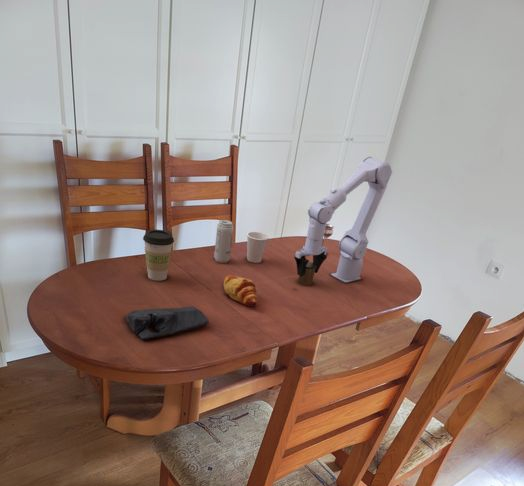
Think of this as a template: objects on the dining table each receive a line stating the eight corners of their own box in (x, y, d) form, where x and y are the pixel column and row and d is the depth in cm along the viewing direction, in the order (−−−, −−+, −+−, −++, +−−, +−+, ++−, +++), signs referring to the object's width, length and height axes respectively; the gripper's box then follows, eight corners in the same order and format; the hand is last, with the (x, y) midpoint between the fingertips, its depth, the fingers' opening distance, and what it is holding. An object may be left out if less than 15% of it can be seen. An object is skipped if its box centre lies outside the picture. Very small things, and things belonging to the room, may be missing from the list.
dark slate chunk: (214, 332, 135) (215, 318, 133) (137, 343, 125) (138, 327, 122) (194, 307, 146) (195, 293, 144) (122, 315, 136) (122, 300, 133)
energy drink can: (229, 264, 179) (233, 225, 171) (213, 262, 178) (217, 223, 170) (230, 258, 184) (234, 220, 176) (214, 256, 184) (218, 218, 176)
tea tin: (305, 278, 179) (308, 260, 175) (315, 284, 175) (319, 266, 172) (294, 280, 175) (298, 262, 172) (305, 286, 172) (308, 268, 168)
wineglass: (312, 248, 208) (318, 222, 201) (327, 251, 208) (333, 224, 201) (312, 254, 202) (318, 226, 196) (327, 257, 202) (334, 229, 196)
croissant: (218, 291, 166) (209, 273, 160) (241, 277, 167) (234, 259, 162) (246, 319, 151) (238, 301, 145) (272, 303, 152) (265, 284, 147)
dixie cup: (249, 264, 182) (253, 239, 176) (240, 256, 188) (243, 231, 182) (268, 263, 186) (272, 238, 180) (258, 255, 192) (262, 231, 186)
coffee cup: (136, 277, 158) (136, 233, 150) (153, 268, 166) (154, 226, 158) (161, 285, 155) (163, 242, 147) (177, 276, 163) (179, 234, 155)
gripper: (320, 232, 173) (313, 266, 180) (292, 236, 164) (285, 272, 172) (334, 238, 169) (326, 273, 176) (306, 243, 160) (298, 280, 167)
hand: (307, 273), depth 174 cm, fingers open, 7 cm apart
